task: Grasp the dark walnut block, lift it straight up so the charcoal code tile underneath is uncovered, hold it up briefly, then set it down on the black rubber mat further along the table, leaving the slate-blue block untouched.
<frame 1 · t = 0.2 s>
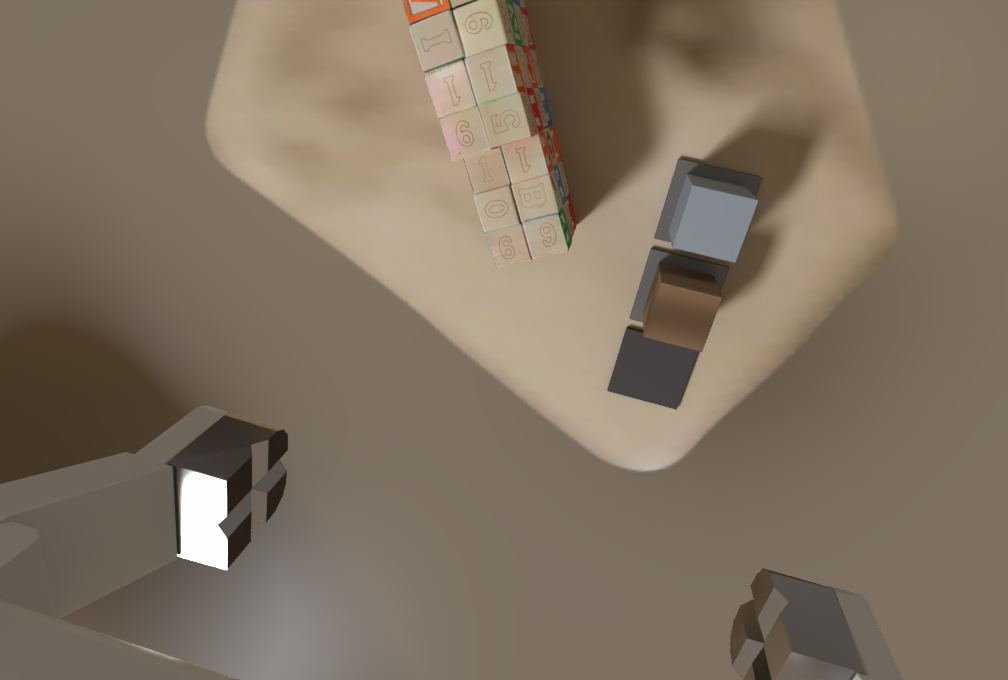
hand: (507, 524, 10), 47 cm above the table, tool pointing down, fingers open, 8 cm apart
slate-blue block: (706, 209, 52), resting on code tile 2
stack of blocks: (516, 115, 53), on the table
walnut block: (677, 294, 56), resting on code tile 1
code tile 1: (677, 293, 56), on the table
rubber mat: (652, 368, 60), on the table
code tile 2: (706, 208, 53), on the table
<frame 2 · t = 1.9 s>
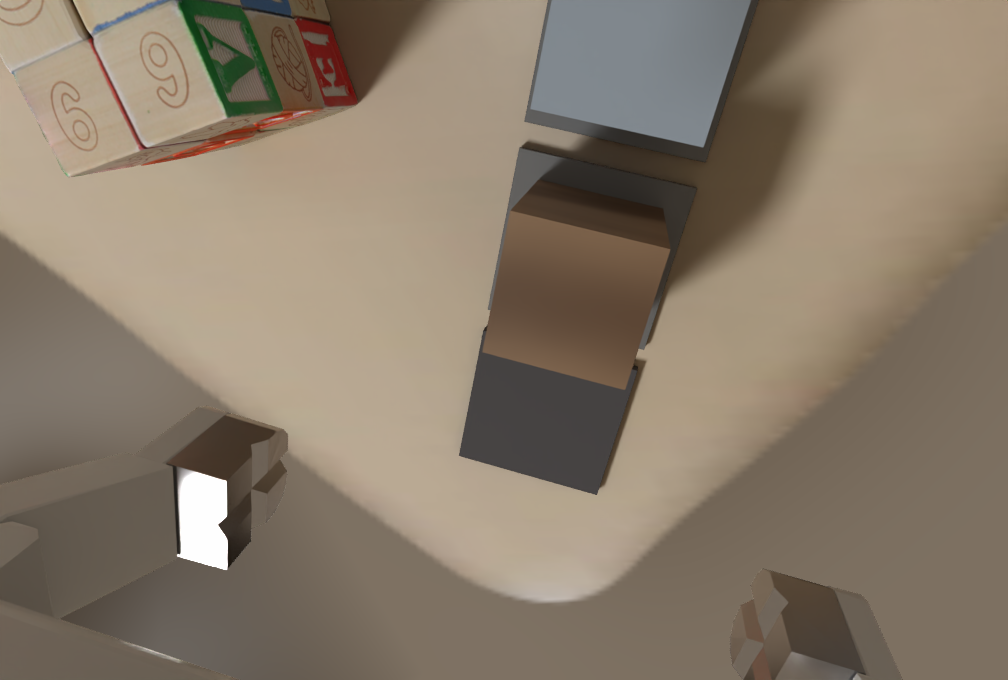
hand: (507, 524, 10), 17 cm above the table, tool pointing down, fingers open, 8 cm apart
slate-blue block: (639, 40, 22), resting on code tile 2
walnut block: (584, 253, 25), resting on code tile 1
code tile 1: (585, 251, 25), on the table
rubber mat: (543, 411, 29), on the table
code tile 2: (639, 40, 22), on the table
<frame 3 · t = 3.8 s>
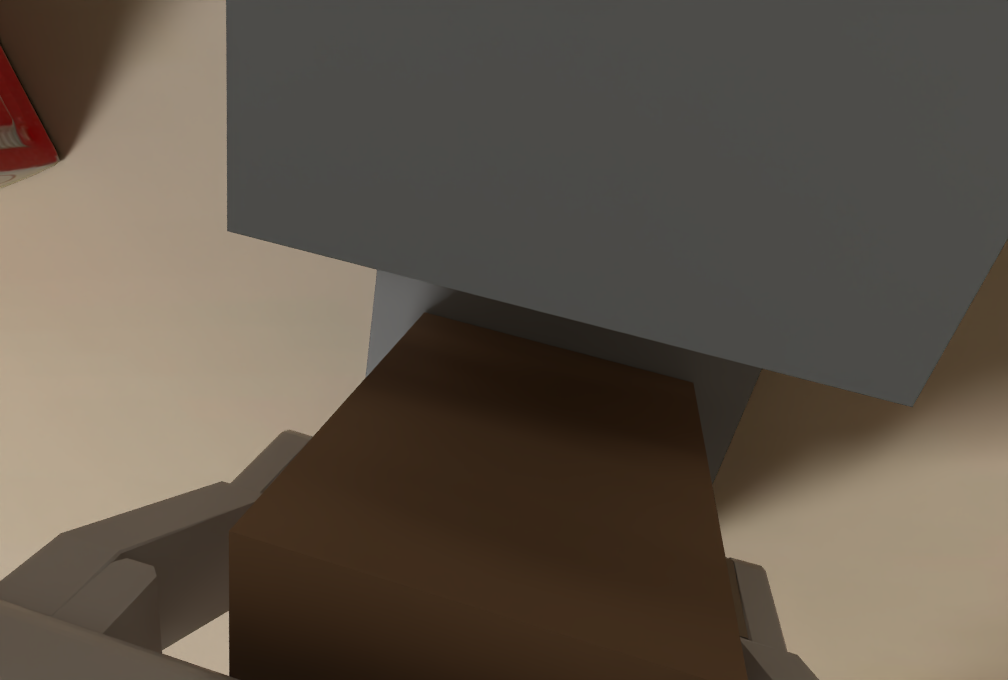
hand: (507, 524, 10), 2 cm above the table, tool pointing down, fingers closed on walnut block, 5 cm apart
slate-blue block: (643, 6, 9), resting on code tile 2
walnut block: (527, 457, 12), resting on code tile 1, touching gripper
code tile 1: (530, 448, 12), on the table
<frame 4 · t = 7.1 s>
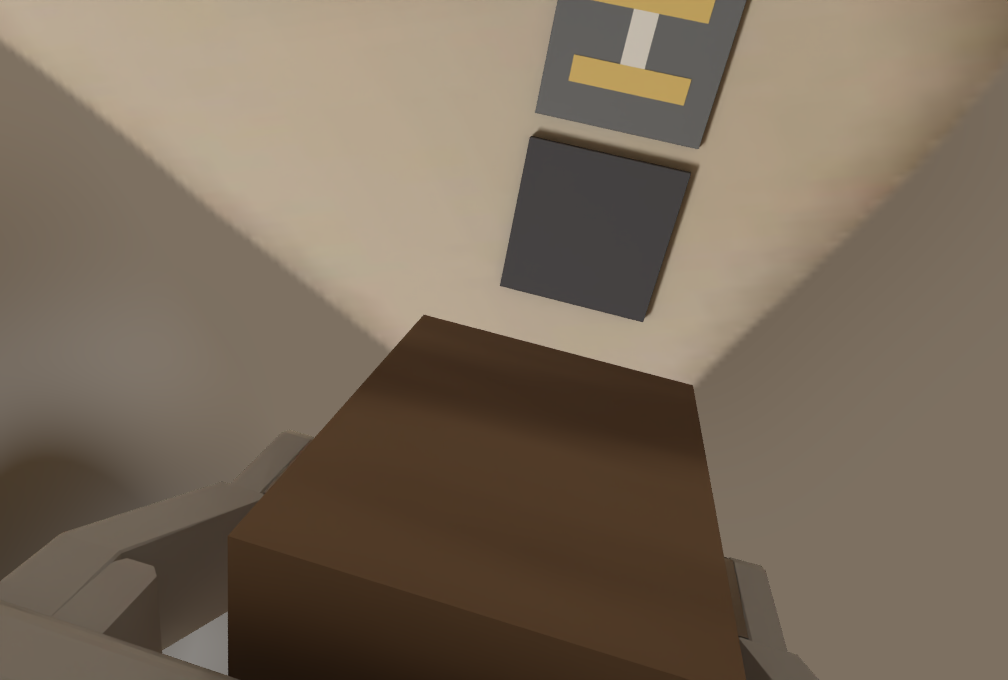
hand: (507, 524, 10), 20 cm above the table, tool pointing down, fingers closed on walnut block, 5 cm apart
walnut block: (526, 460, 12), point 18 cm above the table, touching gripper
code tile 1: (639, 39, 24), on the table
rubber mat: (589, 231, 28), on the table
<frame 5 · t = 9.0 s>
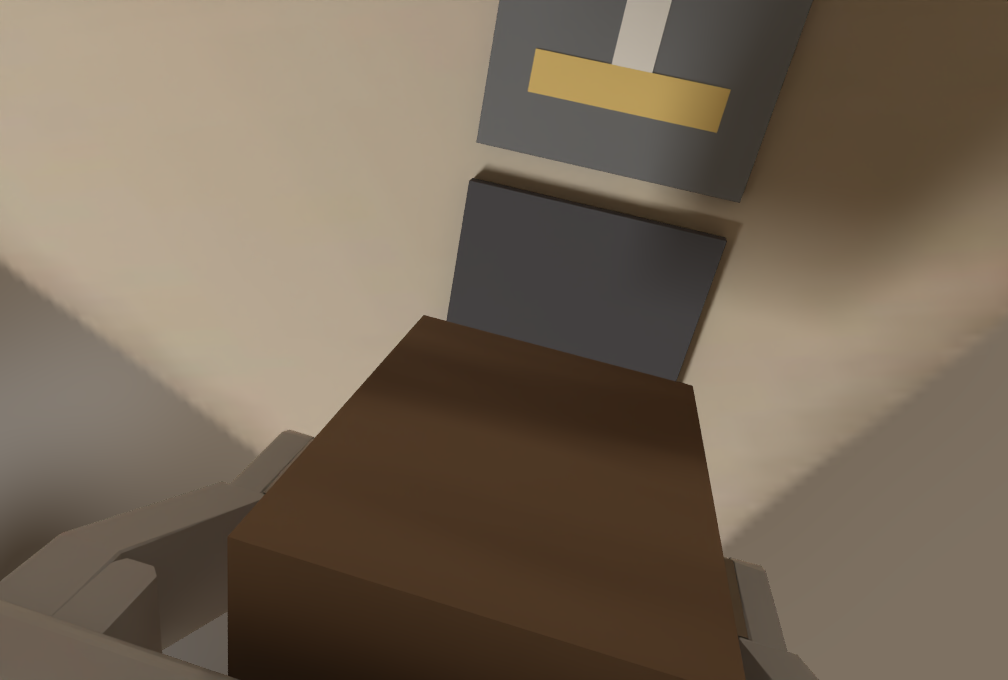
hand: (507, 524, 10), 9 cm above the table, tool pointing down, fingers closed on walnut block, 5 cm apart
walnut block: (526, 460, 12), point 7 cm above the table, touching gripper
code tile 1: (643, 23, 15), on the table
rubber mat: (566, 322, 18), on the table
when the fingers open (4 cm above the table, at t = 10.4 s): walnut block drops 1 cm, resting on rubber mat.
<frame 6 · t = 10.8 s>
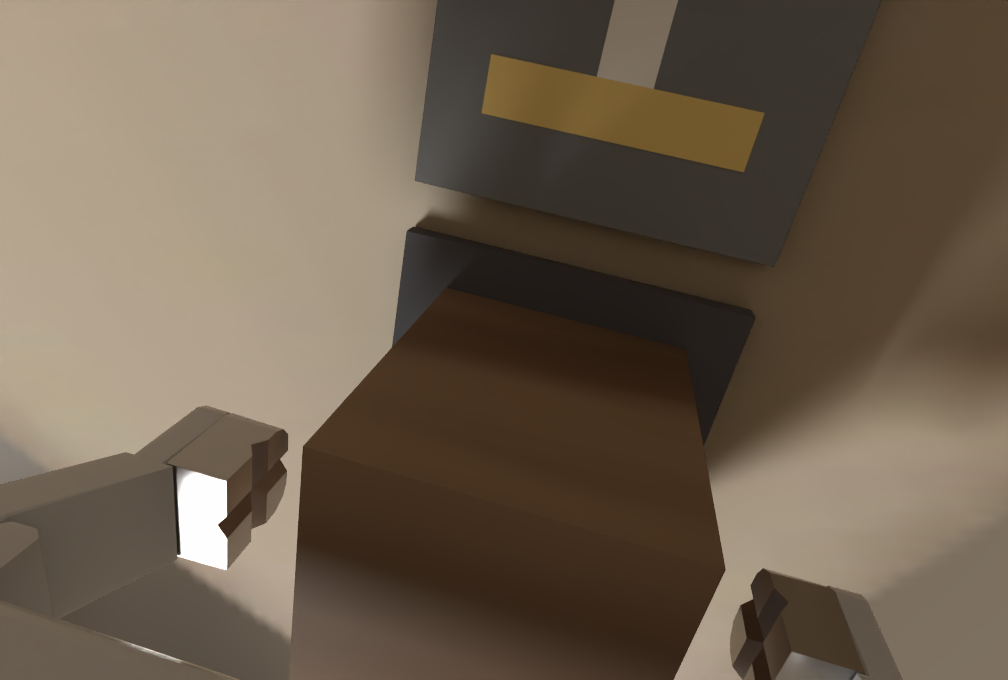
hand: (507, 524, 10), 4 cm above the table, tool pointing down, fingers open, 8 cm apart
walnut block: (537, 420, 13), resting on rubber mat
code tile 1: (641, 20, 10), on the table
rubber mat: (540, 412, 14), on the table
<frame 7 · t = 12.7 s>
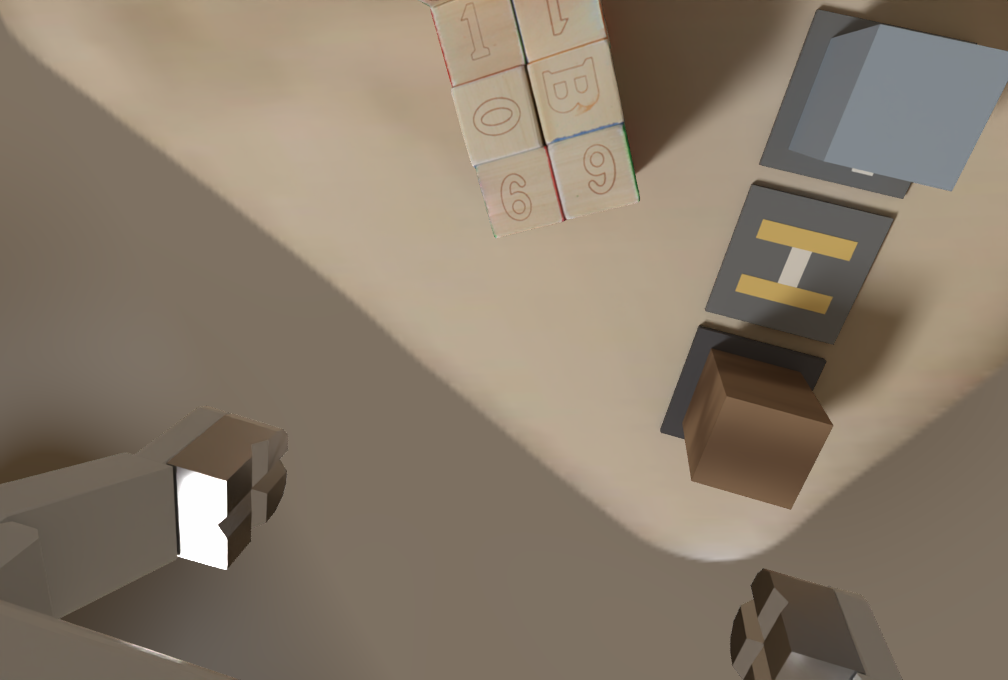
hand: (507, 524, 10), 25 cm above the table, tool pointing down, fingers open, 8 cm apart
slate-blue block: (862, 107, 29), resting on code tile 2
walnut block: (739, 398, 35), resting on rubber mat
code tile 1: (793, 266, 32), on the table
rubber mat: (738, 395, 35), on the table
code tile 2: (859, 107, 29), on the table
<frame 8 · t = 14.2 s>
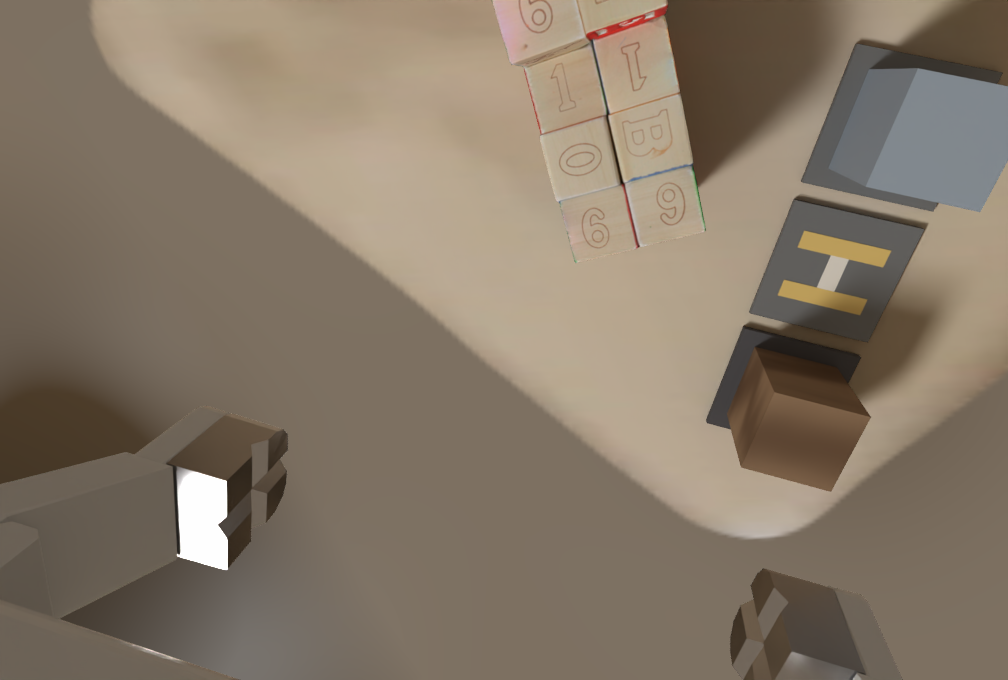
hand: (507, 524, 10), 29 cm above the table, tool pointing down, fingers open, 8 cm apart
slate-blue block: (896, 130, 32), resting on code tile 2
stack of blocks: (595, 19, 33), on the table
walnut block: (780, 391, 39), resting on rubber mat
code tile 1: (831, 272, 35), on the table
rubber mat: (778, 388, 39), on the table
code tile 2: (894, 130, 32), on the table
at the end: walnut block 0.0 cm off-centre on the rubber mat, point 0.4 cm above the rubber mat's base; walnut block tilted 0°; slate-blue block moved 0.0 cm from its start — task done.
